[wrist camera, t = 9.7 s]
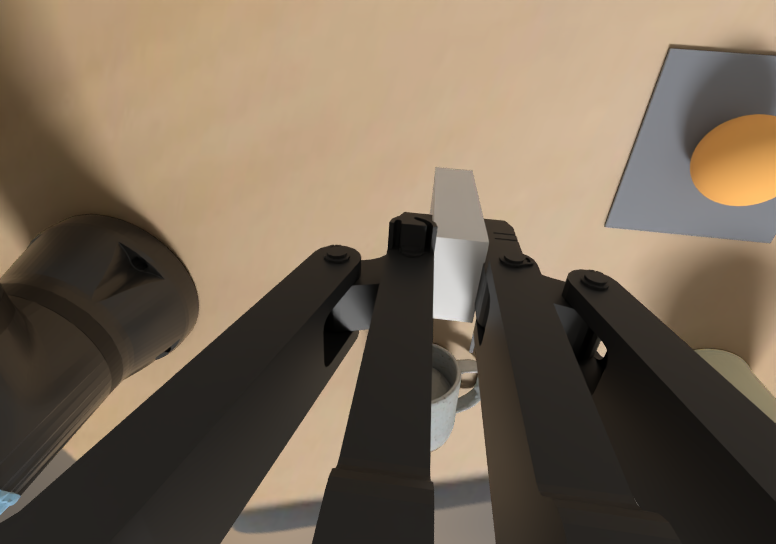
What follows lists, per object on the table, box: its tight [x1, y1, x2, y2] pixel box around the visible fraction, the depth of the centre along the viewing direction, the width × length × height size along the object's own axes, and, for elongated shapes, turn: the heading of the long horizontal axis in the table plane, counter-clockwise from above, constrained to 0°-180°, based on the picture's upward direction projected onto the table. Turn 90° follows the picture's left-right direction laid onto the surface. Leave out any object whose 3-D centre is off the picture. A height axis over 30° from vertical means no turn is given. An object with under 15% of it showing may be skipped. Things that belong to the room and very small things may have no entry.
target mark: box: [605, 48, 776, 243], centre depth 28 cm, size 12×12×1 cm
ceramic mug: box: [431, 344, 480, 452], centre depth 38 cm, size 11×8×8 cm
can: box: [694, 349, 776, 423], centre depth 33 cm, size 9×9×12 cm
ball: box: [690, 114, 776, 206], centre depth 25 cm, size 6×6×6 cm
